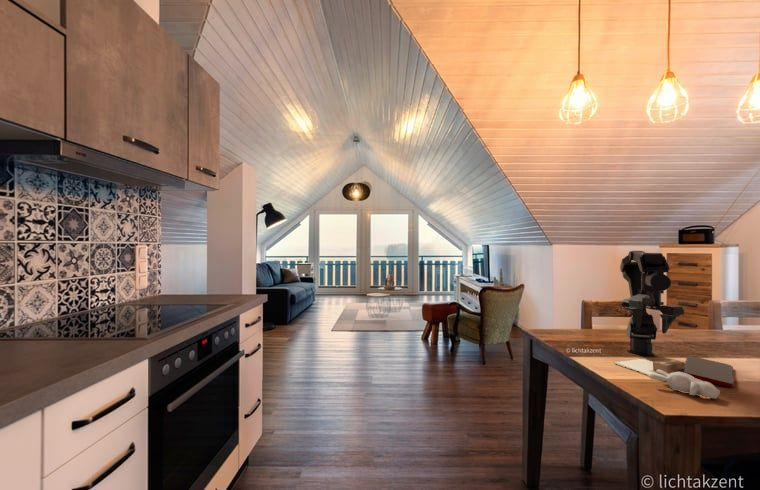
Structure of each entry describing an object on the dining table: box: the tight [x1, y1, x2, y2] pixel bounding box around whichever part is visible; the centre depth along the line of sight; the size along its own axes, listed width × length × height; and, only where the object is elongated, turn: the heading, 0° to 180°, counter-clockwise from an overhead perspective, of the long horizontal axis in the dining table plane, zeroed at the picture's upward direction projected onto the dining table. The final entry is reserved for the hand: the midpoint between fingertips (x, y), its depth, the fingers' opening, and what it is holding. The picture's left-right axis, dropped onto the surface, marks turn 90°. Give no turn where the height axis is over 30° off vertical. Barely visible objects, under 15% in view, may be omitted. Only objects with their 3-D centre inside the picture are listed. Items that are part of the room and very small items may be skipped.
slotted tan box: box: [652, 358, 685, 374], centre depth 119 cm, size 8×4×3 cm, turn 107°
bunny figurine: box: [649, 369, 721, 400], centre depth 106 cm, size 10×5×15 cm
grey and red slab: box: [682, 355, 735, 388], centre depth 120 cm, size 12×2×25 cm
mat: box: [613, 358, 663, 376], centre depth 123 cm, size 17×14×1 cm
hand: (650, 330), depth 130 cm, fingers open, 9 cm apart
